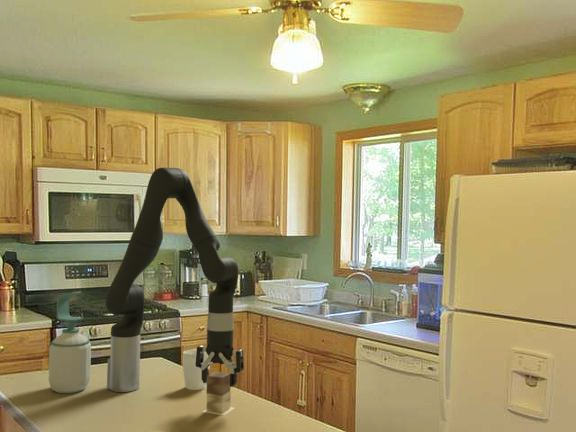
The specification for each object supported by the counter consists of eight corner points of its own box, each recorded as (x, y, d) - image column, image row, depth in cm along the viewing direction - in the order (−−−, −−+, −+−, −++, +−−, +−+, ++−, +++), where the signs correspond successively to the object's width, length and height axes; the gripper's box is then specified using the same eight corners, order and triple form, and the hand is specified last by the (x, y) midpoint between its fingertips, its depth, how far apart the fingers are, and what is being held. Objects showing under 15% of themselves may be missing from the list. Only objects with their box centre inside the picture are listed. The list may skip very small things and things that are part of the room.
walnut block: (206, 393, 163) (206, 375, 163) (214, 388, 168) (215, 371, 168) (222, 395, 162) (222, 377, 162) (230, 390, 166) (230, 373, 166)
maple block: (206, 411, 163) (206, 393, 163) (214, 405, 168) (215, 388, 168) (222, 413, 162) (222, 395, 162) (230, 408, 166) (230, 390, 166)
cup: (204, 394, 181) (205, 355, 181) (177, 391, 183) (178, 354, 183) (213, 386, 190) (214, 349, 190) (187, 384, 192) (188, 347, 192)
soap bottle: (71, 397, 175) (74, 294, 176) (39, 392, 180) (41, 292, 180) (98, 386, 187) (100, 290, 187) (67, 382, 191) (69, 288, 191)
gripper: (191, 327, 164) (190, 384, 164) (237, 332, 159) (235, 391, 159) (204, 323, 171) (203, 378, 171) (248, 327, 166) (247, 383, 166)
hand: (219, 384), depth 165 cm, fingers open, 8 cm apart
